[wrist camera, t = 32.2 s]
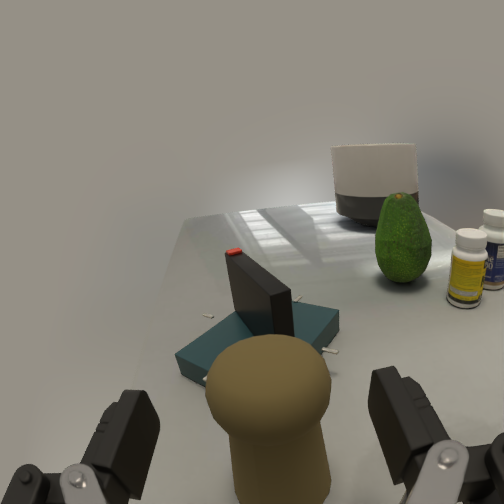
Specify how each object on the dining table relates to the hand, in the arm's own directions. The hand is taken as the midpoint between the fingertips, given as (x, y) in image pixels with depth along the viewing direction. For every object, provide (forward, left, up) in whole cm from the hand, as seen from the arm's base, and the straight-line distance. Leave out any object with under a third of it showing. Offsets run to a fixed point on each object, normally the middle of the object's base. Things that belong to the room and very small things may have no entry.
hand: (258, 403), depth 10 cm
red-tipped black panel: (+13, +10, -8) cm, 18 cm away
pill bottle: (+36, -12, -11) cm, 39 cm away
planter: (+62, +12, -11) cm, 64 cm away
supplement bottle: (+30, -8, -11) cm, 33 cm away
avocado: (+33, +1, -11) cm, 34 cm away
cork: (+2, +1, -11) cm, 11 cm away
